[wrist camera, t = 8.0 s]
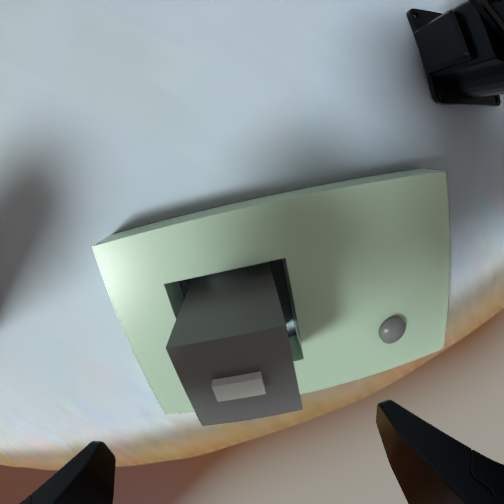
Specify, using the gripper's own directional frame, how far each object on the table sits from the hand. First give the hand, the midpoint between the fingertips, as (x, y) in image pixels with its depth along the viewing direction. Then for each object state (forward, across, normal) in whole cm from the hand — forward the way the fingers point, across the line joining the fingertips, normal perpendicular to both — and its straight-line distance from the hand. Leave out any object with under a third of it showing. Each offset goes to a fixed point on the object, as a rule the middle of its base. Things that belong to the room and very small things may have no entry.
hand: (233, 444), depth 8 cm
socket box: (+10, -3, 0) cm, 10 cm away
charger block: (+10, 0, 0) cm, 10 cm away
